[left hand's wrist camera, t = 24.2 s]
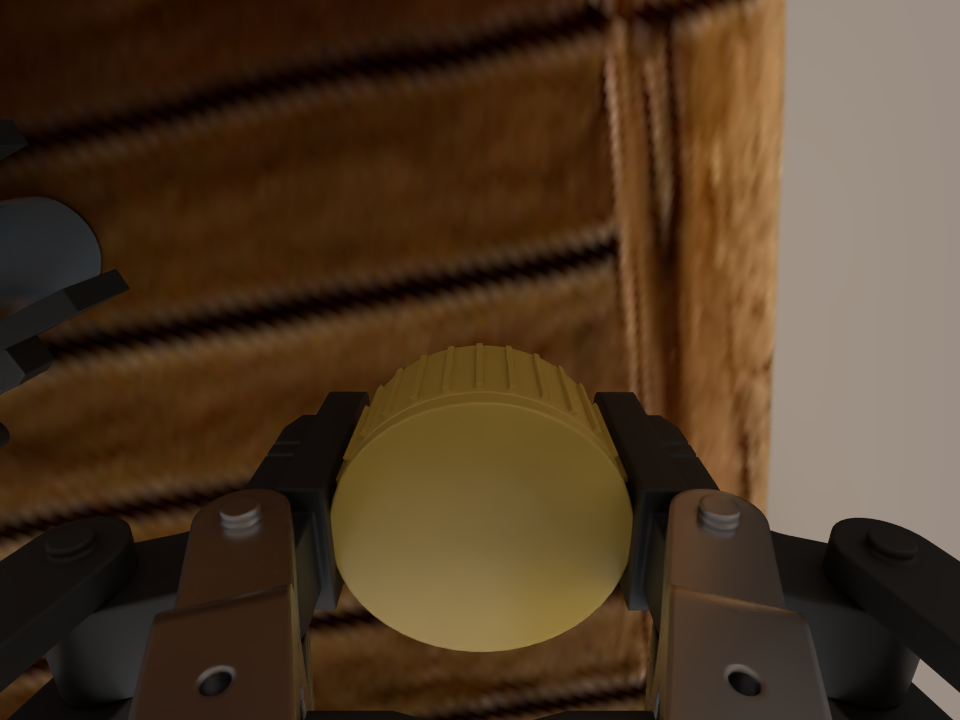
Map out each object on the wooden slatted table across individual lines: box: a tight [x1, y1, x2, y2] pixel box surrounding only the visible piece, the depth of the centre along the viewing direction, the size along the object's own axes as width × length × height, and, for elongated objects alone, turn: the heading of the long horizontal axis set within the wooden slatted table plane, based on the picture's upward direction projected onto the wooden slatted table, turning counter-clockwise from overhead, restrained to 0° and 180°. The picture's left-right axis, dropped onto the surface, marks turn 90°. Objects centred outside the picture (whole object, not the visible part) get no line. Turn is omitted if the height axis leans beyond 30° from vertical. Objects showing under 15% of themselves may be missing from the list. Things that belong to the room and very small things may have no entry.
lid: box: [330, 343, 633, 652], centre depth 10 cm, size 5×5×2 cm
